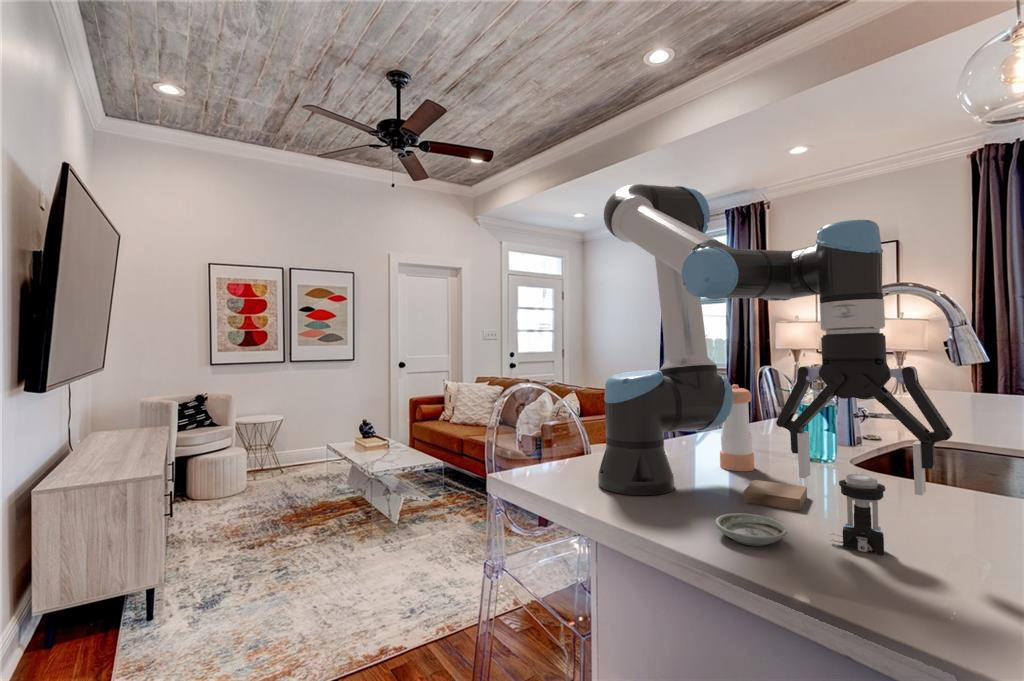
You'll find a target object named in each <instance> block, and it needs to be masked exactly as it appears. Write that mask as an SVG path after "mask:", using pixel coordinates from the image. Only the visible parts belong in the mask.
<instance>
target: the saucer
mask: <svg viewBox="0 0 1024 681" xmlns="http://www.w3.org/2000/svg"><path fill="white" fill-rule="evenodd" d="M714 524H715V526H716V527H717V529H719V530H720V531H721V532H722V533H723V534H724V535H725V536H726V537H728V538H731V539H732V540H733V541H735V542H737V543H739V544H743V545H747V546H751V547H752V546H753V547H759V546H761V547H763V546H767V545H769V544H774V543H776V542H778V541H779V540H781V539H783V538H784V537H786V535H787V534H788V528H787V527H786V526H785V524H783V523H782V522H780V521H778V520H776V519H775V518H771V517H768V516H764V515H759V514H754V513H753V514H752V513H746V512H745V513H744V512H743V513H742V512H738V513H736V512H732V513H725V514H722V515H720V516H717V517H716V519H715V521H714Z"/></svg>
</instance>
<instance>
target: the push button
mask: <svg viewBox="0 0 1024 681" xmlns="http://www.w3.org/2000/svg"><path fill="white" fill-rule="evenodd" d="M838 485H839V486H840V493H841V494H842V495H843V496H845V497H846V516H847V518H846V519H847V520H846V521H844V525H843V527H842V533H840V532H832V531H829V535H832V536H838V537H842V539H839V538H838V539H836V538H832V537H831V538H830V537H829V541H830V542H836V543H840V544H842V546H843V548H845V549H850V550H856V551H859V552H863V553H864V552H865V553H872V554H875V555H879V556H884V555H885V539H884V538H885V537H884V536H885V535H884V532H883V531H882V529H881V528H882V527H881V526H880V525H879V501H880V500H883V498H884V492H885V491H886V486H885V485H884V484H882V483H879V482H878V479H877V477H875V476H871V475H867V474H860V473H859V474H858V473H857V474H855V473H854V474H853V473H852V474H850V473H849V474H846V476H845V479H840V480H839V481H838ZM853 501H854V504H853ZM870 503H871V504H872V506H870ZM871 510H872V514H871ZM853 511H854V512H853Z"/></svg>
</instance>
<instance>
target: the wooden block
mask: <svg viewBox="0 0 1024 681" xmlns="http://www.w3.org/2000/svg"><path fill="white" fill-rule="evenodd" d="M807 499H808V486H804V485H796V484H789V483H781V482H773V481H767V480H765V481H764V480H758V479H753V480H752V482H750V483H749V485H748V486H747V487H746V488H745V489H744V490H743V503H747V504H753V505H754V504H755V505H759V506H766V507H772V508H778V509H784V510H791V511H792V510H793V511H797V512H798V511H799V512H801V511H802V508H803V507H804V504H805V503H806V501H807Z"/></svg>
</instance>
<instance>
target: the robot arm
mask: <svg viewBox="0 0 1024 681" xmlns="http://www.w3.org/2000/svg"><path fill="white" fill-rule="evenodd" d="M710 217H711V212H710V206H709V203H708V200H707V198H706V197H705V195H704V194H703V193H702V192H700V191H698V190H697V189H695V188H691V187H690V188H689V187H685V186H681V185H679V186H678V185H677V186H668V185H652V184H643V183H635V184H629V185H626V186H622V187H621V188H619V189H617V190H616V191H614V192H613V193H612V194H611V196H610V197H609V198H608V199H607V201H606V203H605V206H604V208H603V221H604V225H605V227H606V228H607V230H608V231H609V233H611V235H613V236H614V237H615V238H617V239H618V240H620V241H621V242H624V243H634V244H635V245H636V246H638V247H639V248H641V249H643V251H645V252H647V253H649V254H650V255H651V256H653V257H654V260H655V268H656V277H657V278H656V279H657V287H658V296H659V306H660V316H661V326H662V333H663V342H664V343H663V345H664V352H665V362H664V364H663V365H662V366H661V367H660V368H659V370H658V369H644V370H643V369H642V370H633V371H627V372H621V373H617V374H613V375H611V376H610V377H608V378H607V380H606V381H605V384H604V385H605V387H604V397H603V401H604V411H605V412H604V413H605V414H604V415H605V450H604V453H603V456H602V460H601V464H600V467H599V470H598V476H597V477H598V478H597V479H598V486H599V487H601V489H603V490H605V491H608V492H612V493H616V494H622V495H629V496H654V495H655V496H656V495H662V494H666V493H668V492H671V491H673V490H674V489H675V479H674V478H675V477H674V472H673V471H672V468H671V467H672V466H671V465H670V462H669V461H670V460H669V459H668V455H667V453H666V451H665V450H666V449H665V433H670V432H671V433H672V432H683V431H704V430H707V429H714V428H717V427H719V426H722V425H723V423H724V422H725V421H726V419H727V417H728V416H729V415H730V412H731V410H732V405H733V391H732V387H731V386H732V385H731V383H730V382H728V378H727V377H726V376H724V375H723V374H721V373H718V366H717V363H716V362H715V361H714V360H712V359H711V358H710V357H709V355H708V348H707V338H706V330H705V322H704V312H703V307H702V306H703V304H702V299H701V298H706V299H710V300H719V299H762V300H764V301H769V302H770V301H773V302H774V301H775V302H776V301H782V302H783V301H784V302H785V301H789V300H791V299H797V298H803V297H811V296H815V295H816V296H819V312H820V318H819V319H820V330H821V331H823V332H825V334H823V335H822V336H821V338H820V340H821V344H820V345H821V366H820V368H817V367H811V366H809V365H805V366H804V365H803V366H799V367H798V369H797V376H796V382H795V384H794V386H793V388H792V390H791V392H790V394H789V396H788V398H787V400H786V402H785V404H784V406H783V408H782V409H781V411H780V414H779V416H778V417H777V420H776V421H775V422H776V426H777V427H779V428H784V429H785V430H788V432H789V435H790V450H791V453H792V454H796V455H797V458H798V459H797V460H798V478H802V479H806V478H807V477H810V476H812V474H811V457H810V456H811V454H810V450H811V449H810V432H809V431H804V428H805V427H806V426H807V425H808V424H809V423H810V422H811V421H812V420H813V419H814V418H815V417H816V416H817V415H818V414H819V413H820V411H821V410H823V408H824V407H825V406H826V405H827V404H828V403H830V401H832V400H833V399H834V398H835V397H838V398H839V399H844V400H845V399H846V400H847V399H852V398H854V399H858V400H868V399H871V398H874V399H875V400H876V401H877V402H878V403H880V404H881V405H882V406H884V408H885V409H886V410H888V411H889V412H890V414H892V416H894V417H895V418H896V419H897V420H898V421H899V422H900V423H901V424H902V426H904V427H905V428H906V429H907V430H908V431H909V432H910V433H911V434H912V435H913V436H914V437H915V438H916V439H917V440H915V441H914V442H913V443H912V457H913V479H914V480H913V482H914V495H916V496H923V495H925V493H926V492H927V490H926V489H927V488H926V487H927V486H926V483H927V482H926V469H928V470H932V469H933V468H934V467H935V464H936V452H935V450H936V449H935V444H936V443H938V442H943V441H948V440H950V439H951V437H952V436H953V431H952V429H951V428H950V427H949V425H948V424H947V422H946V421H945V419H944V418H943V416H942V415H941V413H940V412H939V410H938V409H937V407H936V406H935V405H934V403H933V402H932V400H931V398H930V397H929V395H928V393H926V391H925V389H924V388H923V387H922V385H921V384H920V381H919V374H918V370H917V368H916V367H915V366H911V365H910V366H905V367H901V368H890V367H889V365H888V362H887V360H888V359H887V344H886V340H887V339H886V334H885V335H884V332H881V330H882V329H885V327H886V320H885V317H886V316H885V299H884V293H883V253H884V249H883V248H882V240H881V233H880V232H881V230H880V227H879V226H880V225H879V224H878V223H877V222H875V221H873V220H871V219H870V220H869V219H850V220H842V221H835V222H832V223H829V224H826V225H824V226H822V227H820V228H819V229H818V231H817V232H816V233H817V235H816V240H815V244H813V245H810V246H807V247H803V248H798V249H794V250H793V249H792V250H775V249H774V250H772V249H771V250H770V249H769V250H768V249H749V248H747V249H746V248H745V249H743V248H735V247H731V246H729V245H727V244H725V243H723V242H721V241H719V240H717V239H715V238H713V237H712V236H709V235H708V234H706V233H707V231H708V228H709V225H708V224H709V223H710V220H711V218H710ZM817 377H819V378H820V379H821V381H823V383H824V384H825V385H826V386H825V387H824V388H823V389H822V390H821V391H820V392H819V394H818V395H817V396H816V397H815V399H814V400H813V401H811V402H810V404H809V405H807V407H806V408H805V409H804V410H803V411H802V412H801V413H800V414H799V415H798V417H796V419H795V420H793V418H794V416H795V414H796V412H797V411H798V408H799V407H800V405H801V403H802V401H803V399H804V398H805V396H806V393H807V391H808V389H809V388H810V386H811V382H815V380H816V379H817ZM891 378H895V380H896V381H897V383H899V384H902V385H904V387H905V388H906V391H907V392H908V394H909V395H910V397H911V399H912V400H913V402H914V403H915V404H916V407H918V409H919V410H920V412H921V413H922V415H923V416H924V418H925V420H926V421H927V422H928V425H929V426H930V427H931V429H932V431H930V430H929V429H928V428H927V427H926V426H925V425H924V424H923V423H922V422H921V421H920V420H919V419H918V418H917V417H916V416H914V415H913V413H911V412H910V411H909V410H908V408H906V407H905V406H904V404H902V403H901V402H900V401H899V400H898V399H897V398H896V397H894V395H893V393H892V392H891V391H889V390H888V389H887V388H886V387H885V385H886V384H887V383H888V382H889V381H890V379H891Z"/></svg>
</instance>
